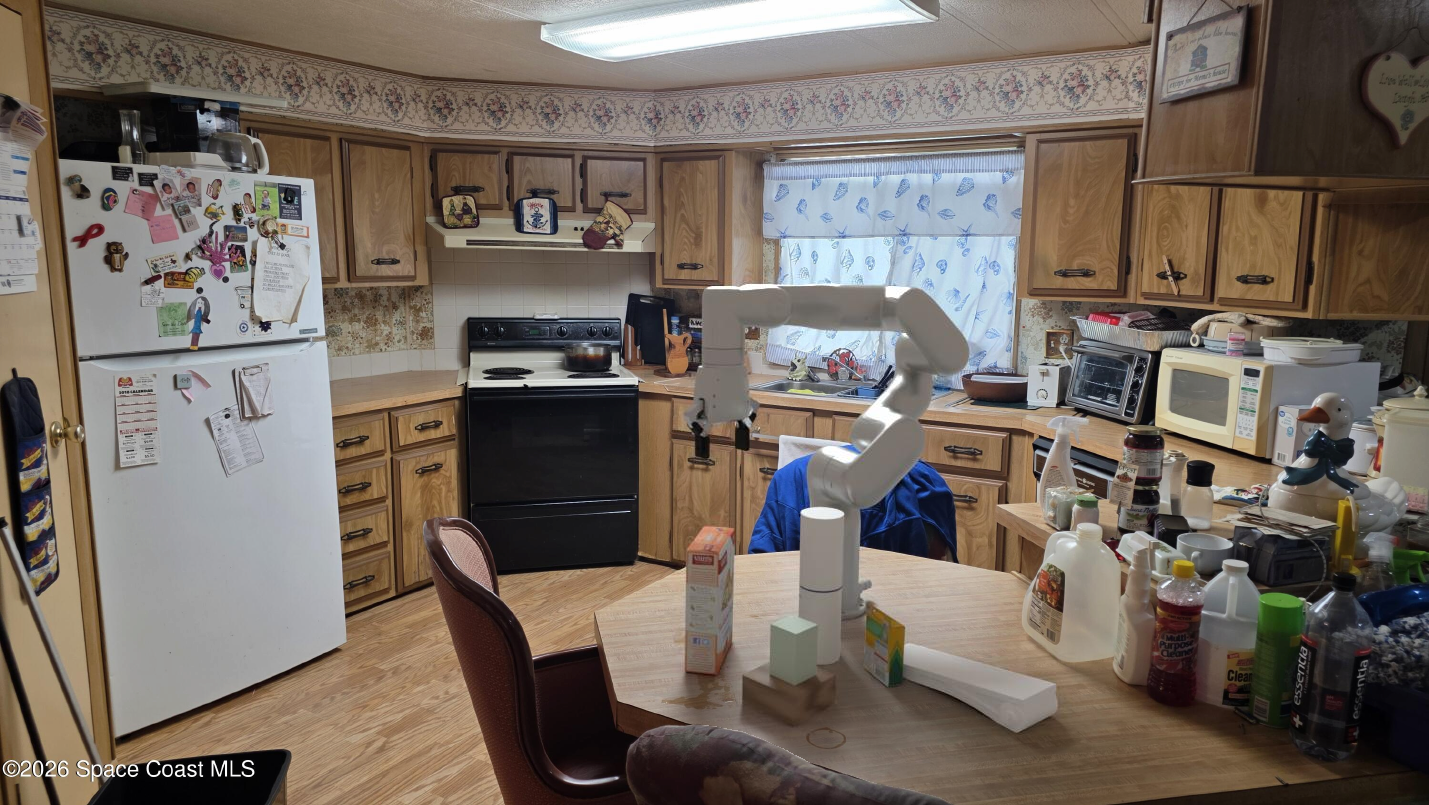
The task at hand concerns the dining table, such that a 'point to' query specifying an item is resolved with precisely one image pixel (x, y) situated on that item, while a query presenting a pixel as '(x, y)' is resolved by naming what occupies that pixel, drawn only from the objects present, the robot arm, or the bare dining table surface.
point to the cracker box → (709, 599)
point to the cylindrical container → (822, 577)
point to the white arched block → (983, 686)
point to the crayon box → (884, 647)
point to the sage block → (793, 649)
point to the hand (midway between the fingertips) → (722, 453)
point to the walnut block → (788, 695)
